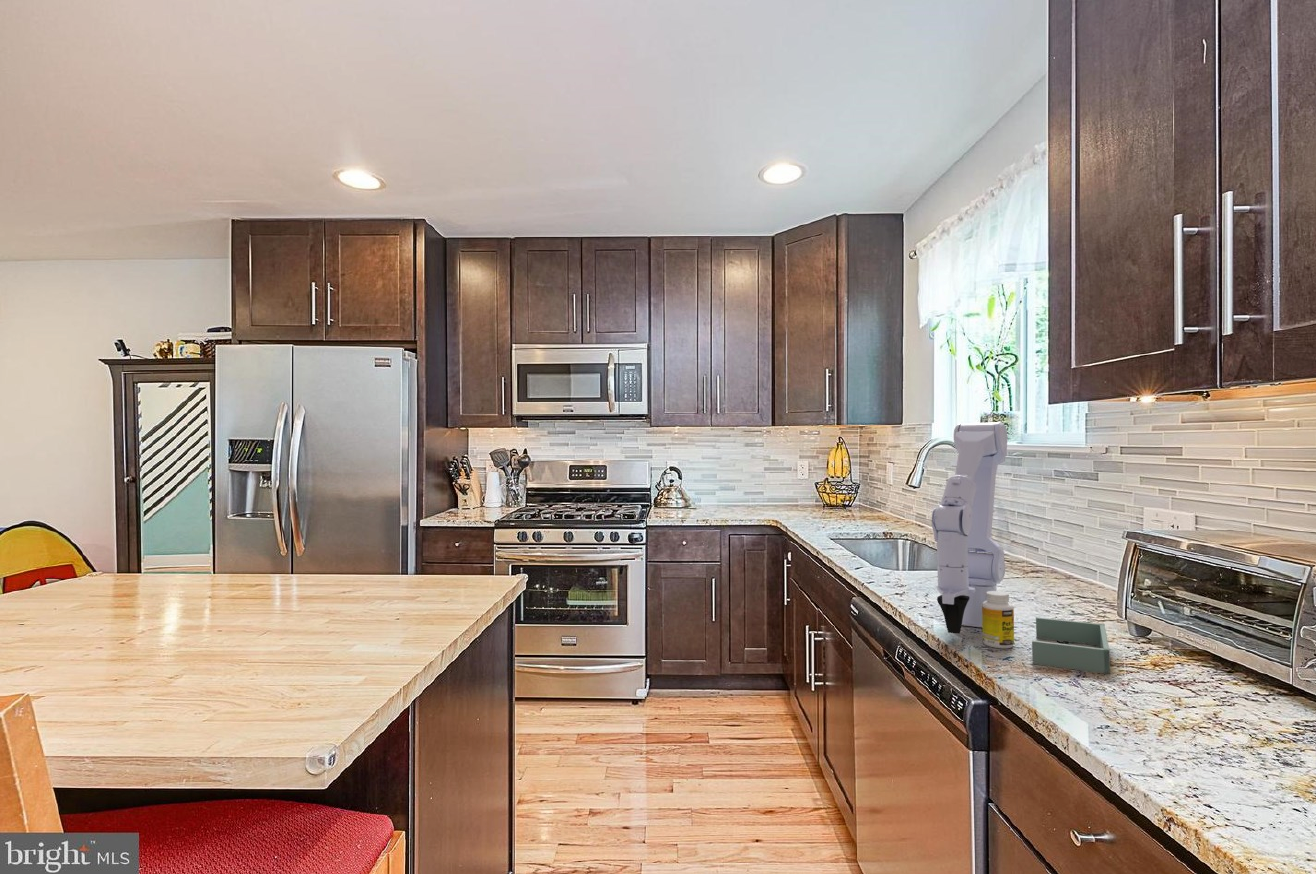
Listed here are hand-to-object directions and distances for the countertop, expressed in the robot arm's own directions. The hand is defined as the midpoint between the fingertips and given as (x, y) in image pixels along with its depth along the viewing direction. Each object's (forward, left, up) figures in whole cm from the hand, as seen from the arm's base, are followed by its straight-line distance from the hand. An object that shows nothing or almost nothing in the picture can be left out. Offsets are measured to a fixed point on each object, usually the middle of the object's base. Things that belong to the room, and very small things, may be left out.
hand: (954, 632), depth 137 cm
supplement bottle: (0, +8, -2) cm, 8 cm away
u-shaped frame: (0, +20, -1) cm, 20 cm away
